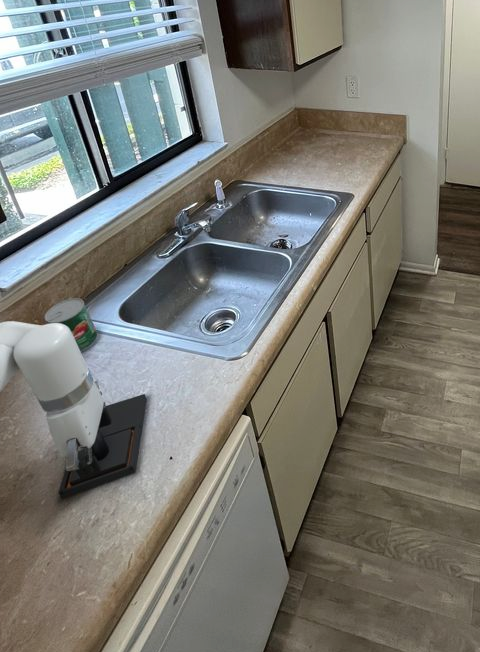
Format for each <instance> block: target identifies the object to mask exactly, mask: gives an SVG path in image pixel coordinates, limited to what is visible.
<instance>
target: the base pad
mask: <svg viewBox="0 0 480 652" xmlns="http://www.w3.org/2000/svg"><path fill="white" fill-rule="evenodd" d="M147 401H148V399H147V396H146V394H145V393H143V394H139V395H136V396H133V397H130V398H126V399H123V400H121V401H117V402H113V403H111V404H107V405H105V408H104V409H107V411H108V413H109V415H110V417H111V419H112V422H111V424H110V425H107V426H104V427H101V428H99V430H100V432H101V434H102V436H103V438H104V437H107V436H110V435H113V434H116V433H119V432H122V431H125V430H128V429H131V430H132V432H133V435H132V441H131V447H130V452H129V458H128V464H127V467H125V468H122V469H119V470H116V471H114V472H111V473H108V474H105V475H102V476H99V477H97V478H94V479H91V480H88V481H85V482H82V483H80V484H77V485H74V486H71V485H70V483H69V480H70V476H71V471H66V467H65V468H64V471H63V476H62V477H61V482H60V486H59V489H58V493H57V494H58V495H59V498H60V499H64V498H67V497H70V496H72V495H76V494H78V493H82V492H84V491H86V490H89V489H93V488H94V487H97V486H101V485H103V484H106V483H108V482H109V483H110V482H111V481H114V480H117V479H120V478H123V477H126V476H128V475H131V474H134V473H136V472H137V466H138V460H139V453H140V447H141V440H142V433H143V427H144V420H145V414H146V408H147ZM79 445H80V443H79ZM79 445H78V447H79Z"/></svg>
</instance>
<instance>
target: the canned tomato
mask: <svg viewBox="0 0 480 652" xmlns="http://www.w3.org/2000/svg"><path fill="white" fill-rule="evenodd" d="M44 321H45V322H46V324H50V323H60V324H64V325H66V326H67V327H68V328H69V329H70V331H71V332H72V334H73V336H74V339H75V341H76V343H77V345H78V347H79V349H80V351H81V353H83V352H84V351H86V350H88V349H89V348H90V347H92V346H93V345H94V344H95V343H96V342H97V340H98V337H99V333H98V331H97V329H96V327H95V325H94V322H93V320H92V318H91V315H90V313H89V311H88V308H87V306H86V305H85V301H84V299H81V298H78V297H77V298H75V297H74V298H69V299H65V300H62V301H60V302H58V303H56V304H54V305H53V306H52V307H50V308H49V309H48V310H47V311H46V313H45V315H44Z"/></svg>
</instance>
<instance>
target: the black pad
mask: <svg viewBox="0 0 480 652" xmlns="http://www.w3.org/2000/svg"><path fill="white" fill-rule="evenodd" d="M132 435H133V432H132V430H131V429H128V430H125V431H122V432H119V433H116V434H113V435H110V436H107V437H104V438H103V436H102V434H101V432H100V430H99V428H98V431H97V435H96V438H95V442H94V444H93V445H92V446H91V448H92V456H95V457H96V459H97V461H98V463H99V464H100V466H101V472H100V473H97V474H94V475H92V476H90V477H87V478H83V479H81V478H80V477H79V475H78V474H77V472H76V470H75V471H73V472H71V476H70V480H69V483H70V485H71V486H74V485H77V484H80V483H82V482H85V481H88V480H91V479H94V478H97V477H99V476H102V475H105V474H108V473H111V472H114V471H116V470H119V469H122V468H125V467H127V464H128V458H129V452H130V447H131V441H132ZM79 446H82V445H79ZM84 457H86V452H85V450H82V451H79V452H78V459H81V458H84Z"/></svg>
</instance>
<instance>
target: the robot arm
mask: <svg viewBox="0 0 480 652" xmlns="http://www.w3.org/2000/svg"><path fill="white" fill-rule="evenodd" d="M82 353H83V352H81V351H80V349H79V347H78V345H77V343H76V341H75V339H74V336H73V334H72V332H71V331H70V329H69V328H68V327H67V326H66V325H64V324H60V323H50V324H47V323H46V324H42V325H40V324H33V323H28V322H21V321H13V320H10V321H9V320H7V321H1V322H0V393H1V392H2V391H3V390H4V389H5V387H6V386H7V385H8V383H10V381H11V380H12V379H13V377H14V376H15V375H16V373H17V372H18V371H19V370H20V372H21V374H22V375H23V377H24V380H25V381H26V382H27V384H28V386H29V388H30V389H31V391H32V392H33V395H34V396H35V398H36V400H37V402H38V403H39V405H40V407H41V408H42V411H44V413H46V416H45V417H46V422H47V426H48V431H49V433H50V436H51V438H52V440H53V442H54V445H55V447H56V449H57V452H58V453H59V455H60V456H61V457H62V458H66V460H65V468H66V471H71V472H73V471H75V470H76V472H77V474H78V475H79V477H80V478H81V479H83V478H87V477H90V476H92V475H94V474H97V473H100V472H101V466H100V464H99V463H98V461H97V459H96V457H95V456H92V448H91V446H92V445H93V444H94V442H95V438H96V435H97V431H98V428H101V427H104V426H107V425H110V424H111V422H112V419H111V417H110V415H109V413H108V411H107V409H104V408H105V406H106V402H105V401H104V398H103V392H102V391H100V385H99V380H95V379H94V377H93V375H92V373H91V371H90V368H89V367H88V364H87V362H86V360H85V358H84V356H83V354H82ZM79 443H80V445H82V446H79V447H78V445H79ZM82 450H85V452H86V457H84V458H81V459H78V452H79V451H82Z"/></svg>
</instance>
